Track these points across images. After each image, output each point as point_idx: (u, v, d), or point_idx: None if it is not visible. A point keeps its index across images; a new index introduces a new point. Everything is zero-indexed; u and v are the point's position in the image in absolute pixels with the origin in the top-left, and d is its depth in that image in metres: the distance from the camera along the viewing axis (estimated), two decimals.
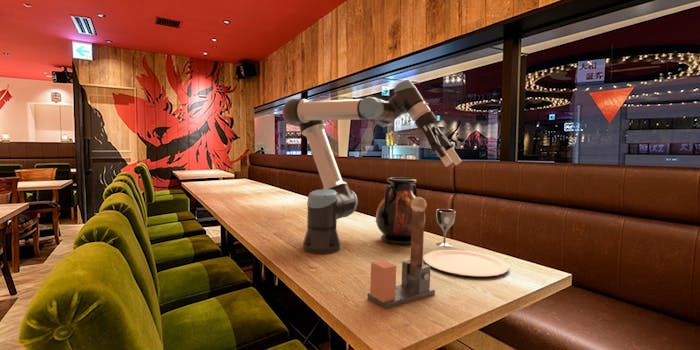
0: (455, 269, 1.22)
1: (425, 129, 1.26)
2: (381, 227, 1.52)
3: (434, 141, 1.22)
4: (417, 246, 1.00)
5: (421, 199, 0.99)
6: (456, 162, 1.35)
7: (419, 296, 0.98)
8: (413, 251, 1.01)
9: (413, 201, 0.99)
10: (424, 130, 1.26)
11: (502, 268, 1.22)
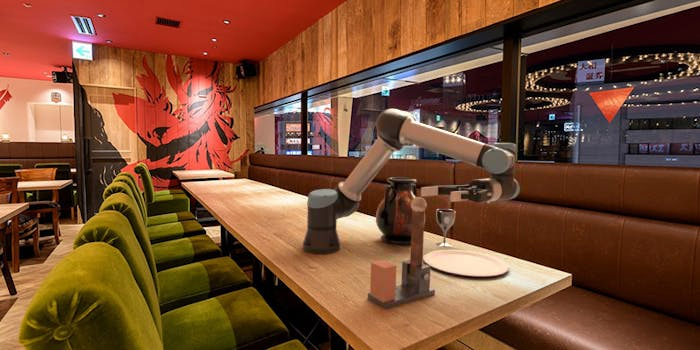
0: (455, 269, 1.22)
1: (489, 193, 1.07)
2: (381, 227, 1.52)
3: (481, 198, 1.02)
4: (417, 246, 1.00)
5: (421, 199, 0.99)
6: (424, 190, 1.09)
7: (419, 296, 0.98)
8: (413, 251, 1.01)
9: (413, 201, 0.99)
10: (489, 192, 1.07)
11: (502, 268, 1.22)
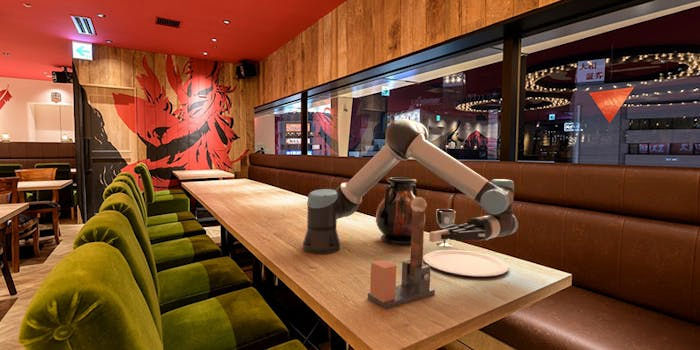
0: (455, 269, 1.22)
1: (480, 234, 1.08)
2: (381, 227, 1.52)
3: (462, 238, 1.06)
4: (417, 246, 1.00)
5: (421, 199, 0.99)
6: None
7: (419, 296, 0.98)
8: (413, 251, 1.01)
9: (413, 201, 0.99)
10: (480, 232, 1.08)
11: (502, 268, 1.22)
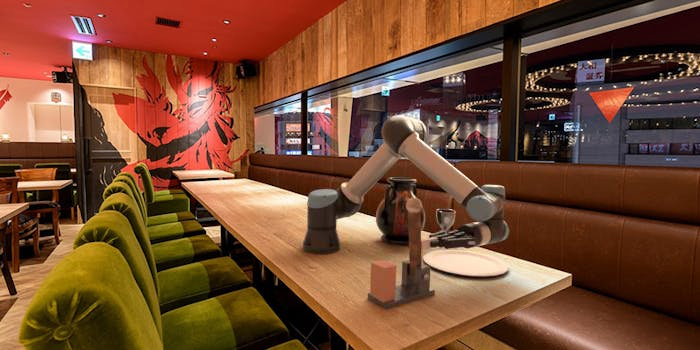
0: (455, 269, 1.22)
1: (470, 242, 1.05)
2: (381, 227, 1.52)
3: (451, 246, 1.03)
4: (415, 247, 0.99)
5: (416, 200, 0.98)
6: None
7: (419, 296, 0.98)
8: (411, 252, 1.00)
9: (408, 202, 0.98)
10: (470, 240, 1.05)
11: (502, 268, 1.22)
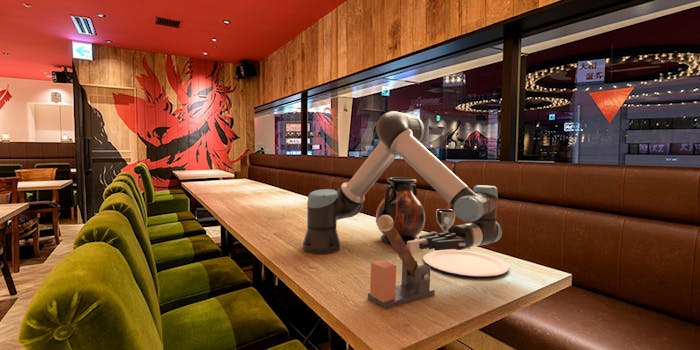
0: (455, 269, 1.22)
1: (460, 243, 1.03)
2: None
3: (441, 248, 1.01)
4: (404, 257, 0.97)
5: (384, 220, 0.92)
6: None
7: (419, 296, 0.98)
8: (403, 260, 0.99)
9: (378, 225, 0.93)
10: (460, 242, 1.03)
11: (502, 268, 1.22)
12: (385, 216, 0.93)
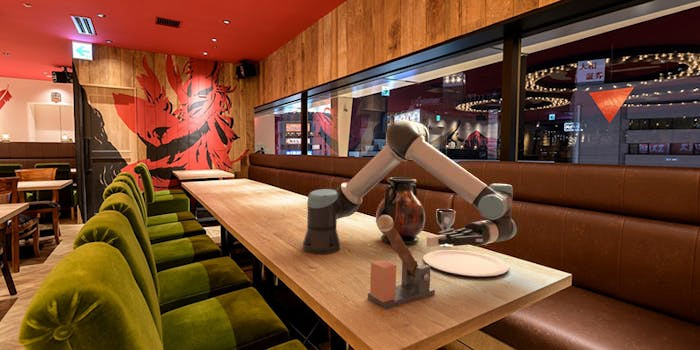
0: (455, 269, 1.22)
1: (478, 239, 1.07)
2: None
3: (459, 244, 1.05)
4: (404, 257, 0.97)
5: (384, 220, 0.92)
6: None
7: (419, 296, 0.98)
8: (403, 260, 0.99)
9: (378, 225, 0.93)
10: (477, 238, 1.07)
11: (502, 268, 1.22)
12: (385, 216, 0.93)
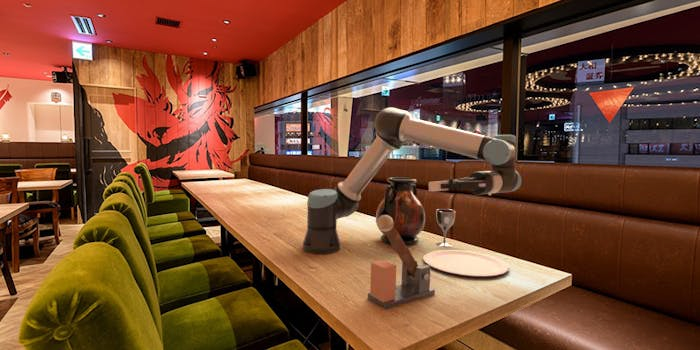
0: (455, 269, 1.22)
1: (480, 184, 1.07)
2: None
3: (461, 188, 1.06)
4: (404, 257, 0.97)
5: (384, 220, 0.92)
6: None
7: (419, 296, 0.98)
8: (403, 260, 0.99)
9: (378, 225, 0.93)
10: (480, 182, 1.07)
11: (502, 268, 1.22)
12: (385, 216, 0.93)
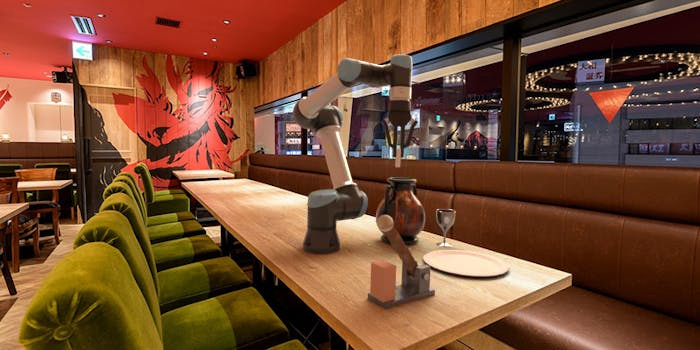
0: (455, 269, 1.22)
1: (383, 124, 1.28)
2: None
3: (387, 142, 1.27)
4: (404, 257, 0.97)
5: (384, 220, 0.92)
6: None
7: (419, 296, 0.98)
8: (403, 260, 0.99)
9: (378, 225, 0.93)
10: (383, 124, 1.28)
11: (502, 268, 1.22)
12: (385, 216, 0.93)
